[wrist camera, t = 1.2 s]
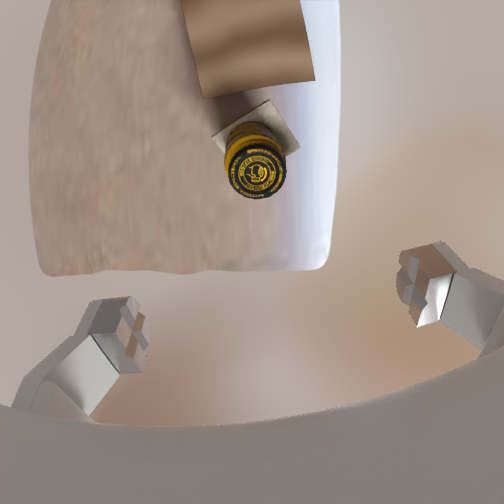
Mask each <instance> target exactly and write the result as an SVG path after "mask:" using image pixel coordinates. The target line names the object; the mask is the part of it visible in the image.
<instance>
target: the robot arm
mask: <svg viewBox="0 0 504 504" xmlns="http://www.w3.org/2000/svg"><path fill="white" fill-rule="evenodd" d="M399 263H400V264H401V266H402V268H401V269H400V270H399V272H398V273H397V278H396V287H397V292H398V295H399V297H400V299H401V301H402V302H403V303H405V304H407V305H408V306H410V307H409V314H410V316H411V317H412V319H413V320H414V322H415V324H416V325H417V327H418V326H422V325H426V324H429V323H433V322H436V321H439V320H440V322H441V323H442V324H444V325H445V326H447V327H448V328H450V329H451V330H453V331H454V332H455V333H457V334H458V335H460V336H461V337H463V338H464V339H466V340H467V341H468V342H470V343H471V344H473V345H474V346H475V347H477V348H478V349H480V350H481V352H480V354H479V356H478V358H477V359H476V360H474V361H472V362H470V363H468V364H465V365H463V366H461V367H459V368H456V369H454V370H452V371H449V372H447V373H444V374H442V375H439V376H437V377H434V378H432V379H429V380H426V381H424V382H421V383H418V384H415V385H413V386H410V387H407V388H404V389H401V390H398V391H395V392H392V393H389V394H385V395H382V396H378V397H375V398H372V399H368V400H365V401H361V402H357V403H353V404H349V405H345V406H341V407H336V408H332V409H328V410H323V411H318V412H313V413H308V414H302V415H297V416H291V417H285V418H279V419H271V420H264V421H256V422H247V423H237V424H226V425H211V426H185V427H156V426H130V425H115V424H104V423H96V422H95V421H94V420H93V419H91V418H90V417H89V415H90V414H91V412H92V411H93V410H94V408H95V407H96V406H97V404H98V403H99V402H100V400H101V399H102V398H103V397H104V395H105V394H106V393H107V391H108V390H109V389H110V387H111V386H112V385H113V384H114V382H115V381H116V380H117V378H118V377H119V376H120V375H119V374H132V373H143V370H144V365H145V361H146V357H147V356H146V354H145V353H144V350H145V349H146V348H147V347H148V346H149V344H150V339H151V333H150V327H149V323H148V321H147V319H146V317H145V316H144V315H142V314H141V313H139V312H138V311H139V307H140V305H139V303H138V302H137V300H136V298H135V297H132V296H128V297H119V298H110V299H101V300H94V301H92V302H90V303H89V305H88V308H87V309H86V311H85V313H84V315H83V317H82V319H81V321H80V323H79V325H78V328H77V330H76V332H75V334H74V336H70V337H69V338H68V339H66V340H65V341H64V342H63V343H62V344H60V345H59V346H58V347H57V348H56V349H55V350H54V351H52V352H51V353H50V354H49V355H48V356H47V357H46V358H45V359H44V360H42V361H41V362H40V363H39V364H38V365H37V366H36V367H35V368H34V369H33V370H31V371H30V372H29V373H28V374H27V375H26V376H25V377H24V378H23V380H22V382H21V384H20V387H19V389H18V392H17V394H16V397H15V399H14V401H13V404H12V406H11V407H8V406H4V405H0V504H504V281H503V280H501V279H499V278H496V277H494V276H492V275H489V274H487V273H485V272H482V271H480V270H478V269H475V268H471V269H470V268H469V267H468V266H467V265H466V264H465V263H464V262H463V261H462V260H461V259H460V258H459V257H458V256H457V255H456V254H455V252H453V250H452V249H451V248H450V247H449V246H448V245H447V244H446V243H444V242H441V241H439V242H435V243H431V244H428V245H425V246H420V247H415V248H411V249H406V250H402V251H401V253H400V255H399Z"/></svg>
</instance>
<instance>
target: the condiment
mask: <svg viewBox="0 0 504 504" xmlns="http://www.w3.org/2000/svg"><path fill="white" fill-rule="evenodd" d="M261 122H263V123H261ZM264 122H266V123H264ZM212 138H213V140H214V141H215V142H216V144H217V145H218V146H219V148H220V149H221V150H222V151H223V153H224V154H225V161H224V165H225V171H226V174H227V176H228V178H229V182H230V184H231V185H232V187H233V188H234V189H235V190H236V191H237V192H238V193H239V194H241V195H243V196H244V197H247V198H252V199H262V198H267V197H270V196H272V195H273V194H274V193H276V192H277V191H278V190H279V189H280V188H281V187H282V185H283V183H284V181H285V178H286V173H287V170H286V159H285V156H287V155H289V154H291V153H292V152H294V151H296V150H297V149H299V148H300V146H299V144H298V143H297V141H296V140H295V138H294V136H293V135H292V133H291V132H290V130H289V129H288V127H287V126H286V124H285V122H284V121H283V119H282V118H281V116H280V115H279V113H278V112H277V110H276V109H275V107H274V106H273V104H272V103H271V101H270V100H269V101H267V102H266V103H264V104H263V105H261V106H259V107H258V108H256V109H254V110H253V111H251V112H250V113H248V114H246V115H245V116H243V117H242V118H240V119H239V120H237V121H235V122H234V123H232V124H231V125H229V126H228V127H226V128H225V129H223V130H222V131H221V132H219V133H218V134H216V135H215V136H213V137H212Z"/></svg>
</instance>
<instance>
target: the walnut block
mask: <svg viewBox="0 0 504 504" xmlns="http://www.w3.org/2000/svg"><path fill="white" fill-rule="evenodd" d="M181 4H182V9H183V13H184V17H185V22H186V26H187V31H188V35H189V39H190V44H191V48H192V52H193V57H194V61H195V65H196V69H197V74H198V78H199V82H200V86H201V91H202V95H203V99H208V98H212V97H216V96H221V95H225V94H230V93H235V92H240V91H245V90H251V89H256V88H262V87H269V86H275V85H282V84H290V83H298V82H307V81H315V75H314V69H313V64H312V58H311V53H310V47H309V42H308V37H307V32H306V27H305V22H304V18H303V13H302V9H301V4H300V0H183V1H181Z"/></svg>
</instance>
